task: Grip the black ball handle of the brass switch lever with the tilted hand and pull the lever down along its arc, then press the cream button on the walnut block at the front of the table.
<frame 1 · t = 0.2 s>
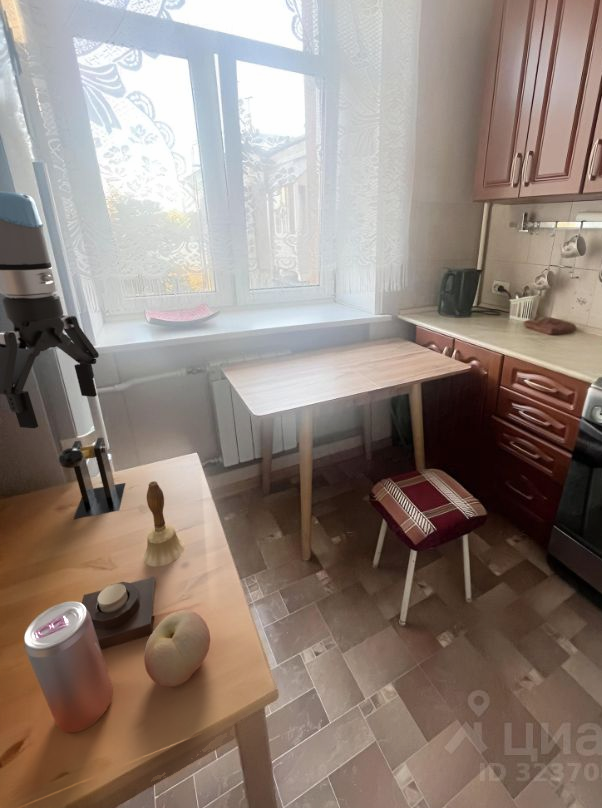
hand: (61, 410, 73), 24 cm above the table, tool pointing down, fingers open, 13 cm apart
fruit: (182, 667, 54), on the table
switch bracket: (102, 504, 84), on the table
lever: (80, 454, 74), point 15 cm above the table, hinge at 25.0°
button: (112, 598, 58), point 4 cm above the table, slide at 0.1 cm
beverage can: (86, 708, 49), on the table
button block: (118, 619, 60), on the table
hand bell: (165, 556, 72), on the table
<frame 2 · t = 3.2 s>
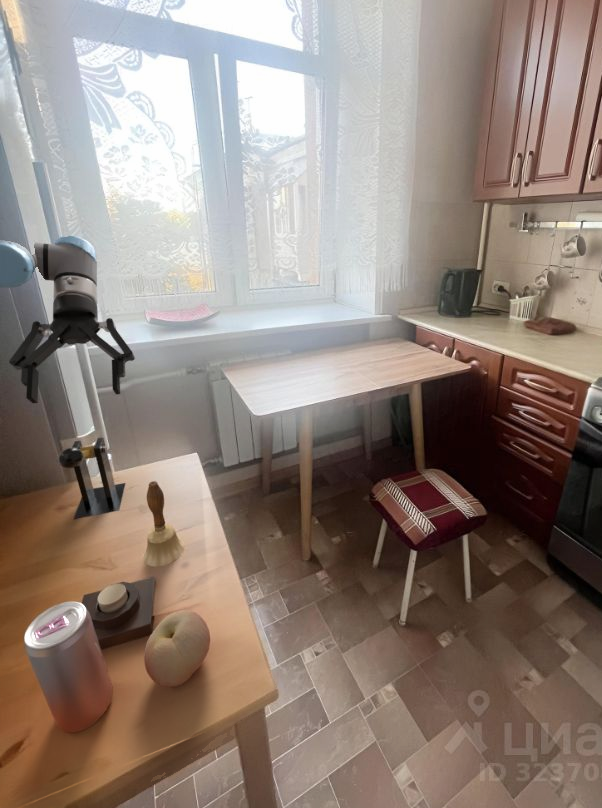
hand: (75, 396, 75), 25 cm above the table, tool tilted 45°, fingers open, 13 cm apart
nothing on the table moved.
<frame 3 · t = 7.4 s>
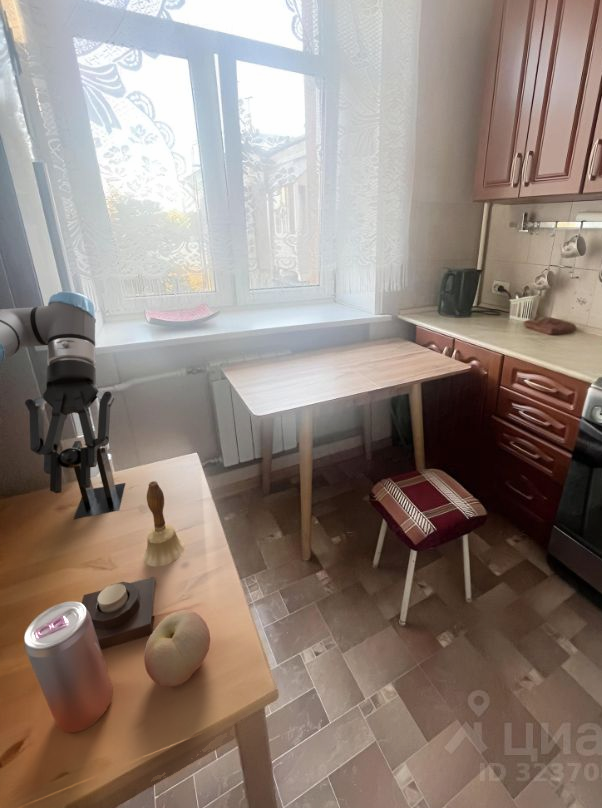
hand: (70, 488, 67), 14 cm above the table, tool tilted 45°, fingers closed on lever, 4 cm apart
lever: (80, 454, 74), point 15 cm above the table, hinge at 25.0°, touching gripper
everything else where it was.
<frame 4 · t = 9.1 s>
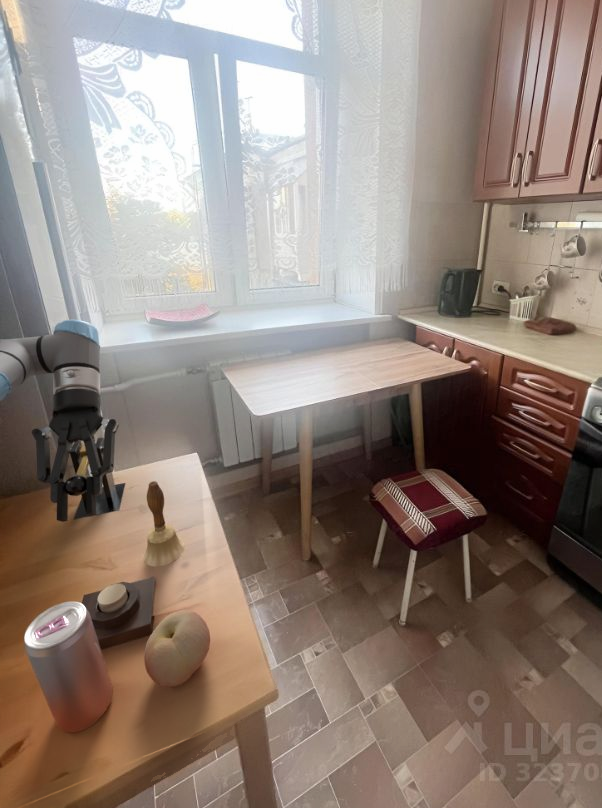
hand: (77, 517, 68), 8 cm above the table, tool tilted 45°, fingers closed on lever, 4 cm apart
lever: (83, 468, 74), point 13 cm above the table, hinge at -2.7°, touching gripper
everything else where it was.
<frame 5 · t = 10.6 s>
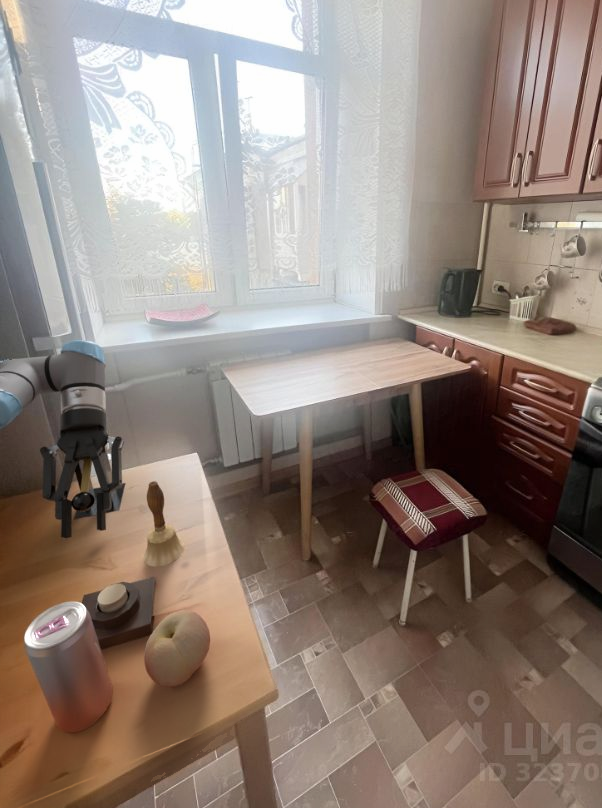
hand: (84, 533, 71), 4 cm above the table, tool tilted 45°, fingers open, 5 cm apart
lever: (86, 476, 76), point 10 cm above the table, hinge at -26.1°
everything else where it was.
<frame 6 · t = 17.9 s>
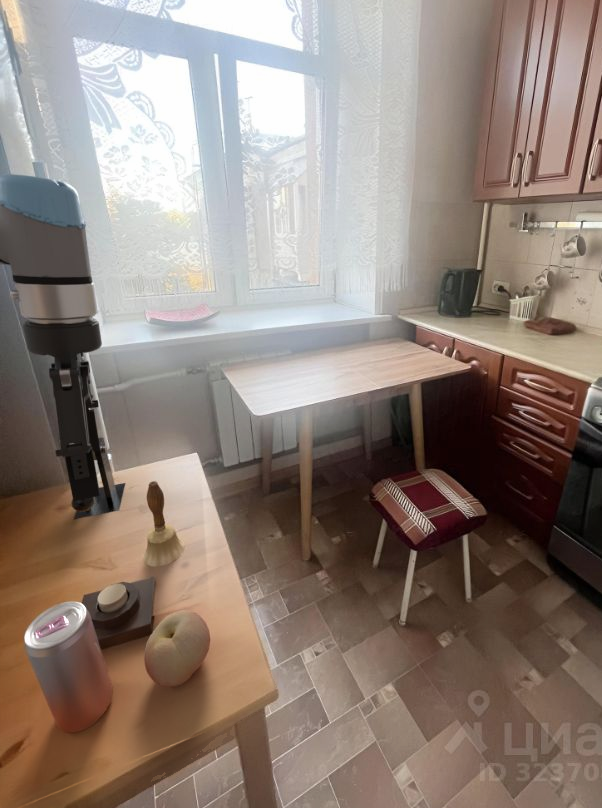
hand: (88, 472, 54), 24 cm above the table, tool pointing down, fingers open, 13 cm apart
nothing on the table moved.
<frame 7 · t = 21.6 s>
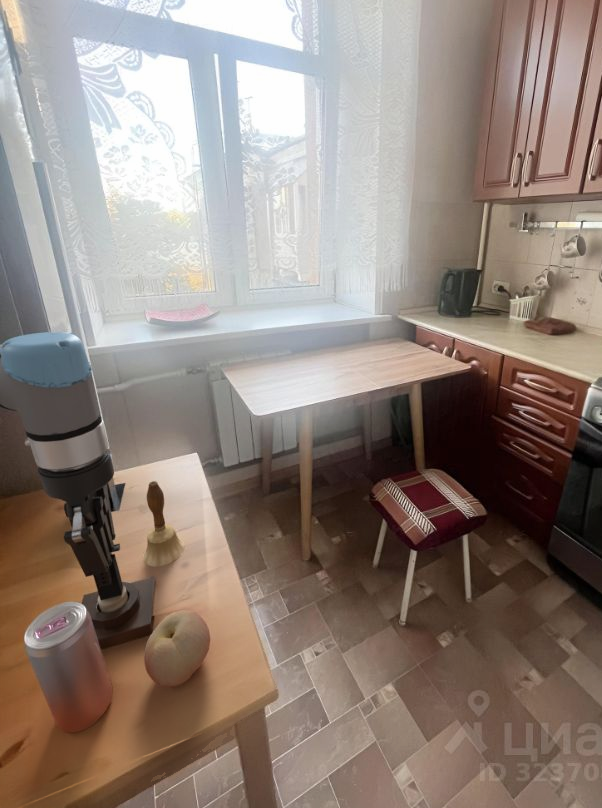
hand: (112, 593, 58), 5 cm above the table, tool pointing down, fingers closed
button: (113, 598, 59), point 4 cm above the table, slide at -0.1 cm, touching gripper
everything else where it was.
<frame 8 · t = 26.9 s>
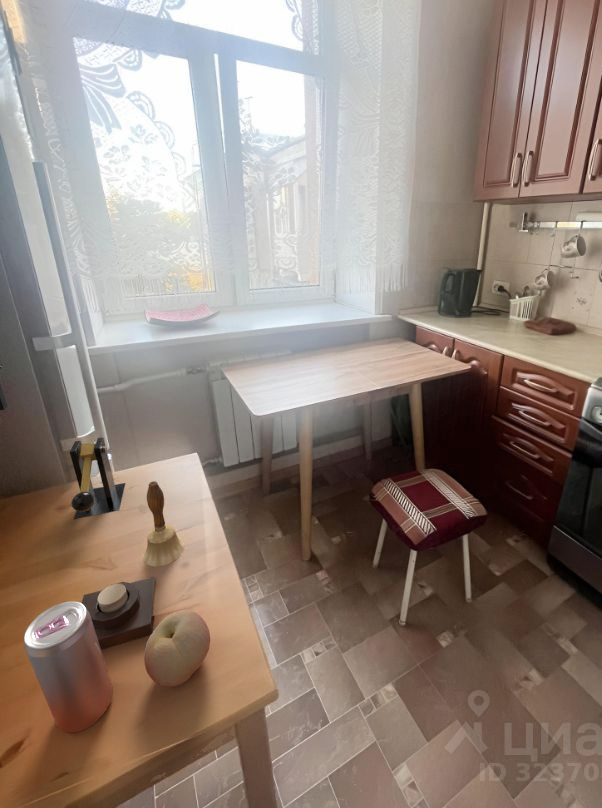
button: (112, 598, 58), point 4 cm above the table, slide at 0.1 cm
everything else where it was.
at the end: lever at -26° (first picture: +25°); button pushed in 1.0 cm at the most during the clip, back to where it started at the end; button slide at 0.1 cm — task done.
